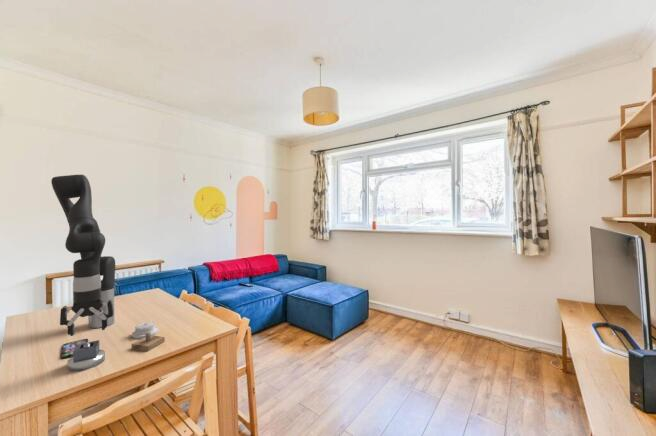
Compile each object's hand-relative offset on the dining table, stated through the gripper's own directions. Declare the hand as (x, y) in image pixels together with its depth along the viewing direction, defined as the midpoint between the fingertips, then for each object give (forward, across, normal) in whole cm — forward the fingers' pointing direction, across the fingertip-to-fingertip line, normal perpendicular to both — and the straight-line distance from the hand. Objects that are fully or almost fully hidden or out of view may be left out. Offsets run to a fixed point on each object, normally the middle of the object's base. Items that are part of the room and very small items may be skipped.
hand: (88, 332), depth 97 cm
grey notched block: (+9, 0, 0) cm, 9 cm away
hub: (+11, -1, 0) cm, 11 cm away
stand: (+11, +18, +4) cm, 21 cm away
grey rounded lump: (+12, +16, +17) cm, 27 cm away
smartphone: (+12, -7, +16) cm, 21 cm away
